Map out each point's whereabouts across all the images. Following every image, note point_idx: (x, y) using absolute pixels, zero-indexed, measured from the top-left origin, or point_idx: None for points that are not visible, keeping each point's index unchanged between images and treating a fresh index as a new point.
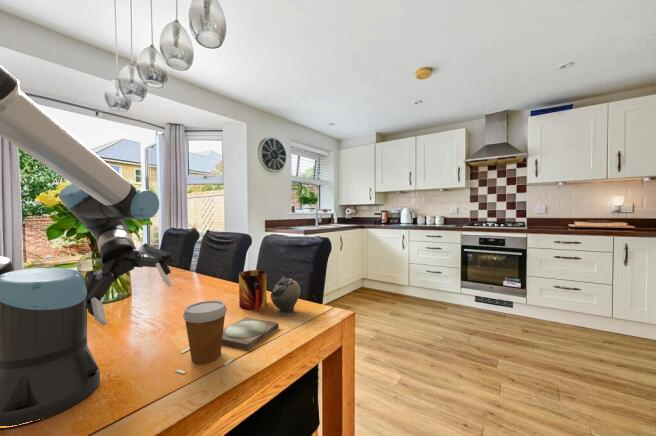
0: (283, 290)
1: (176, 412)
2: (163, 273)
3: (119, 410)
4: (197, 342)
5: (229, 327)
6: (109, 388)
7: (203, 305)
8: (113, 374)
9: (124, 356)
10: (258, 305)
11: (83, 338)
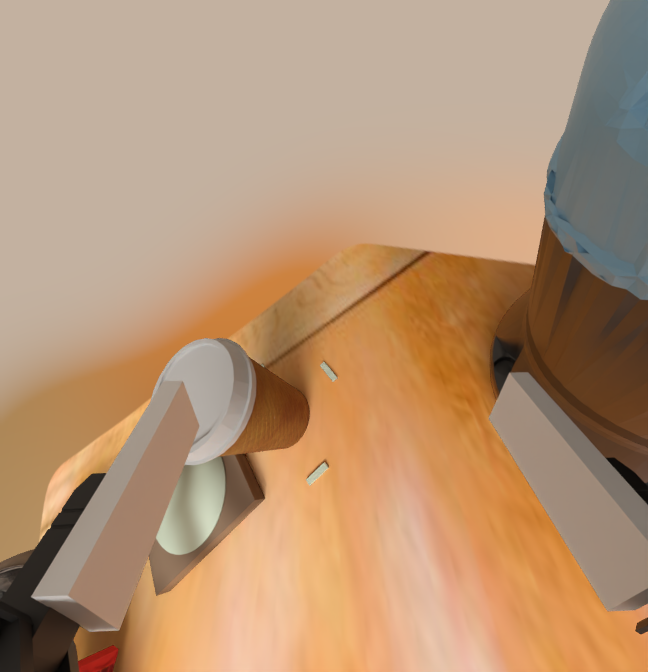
0: (14, 575)
1: (334, 267)
2: (141, 421)
3: (412, 287)
4: (271, 372)
5: (207, 529)
6: (458, 362)
7: None
8: (474, 429)
9: (485, 552)
10: (95, 655)
11: (528, 314)
